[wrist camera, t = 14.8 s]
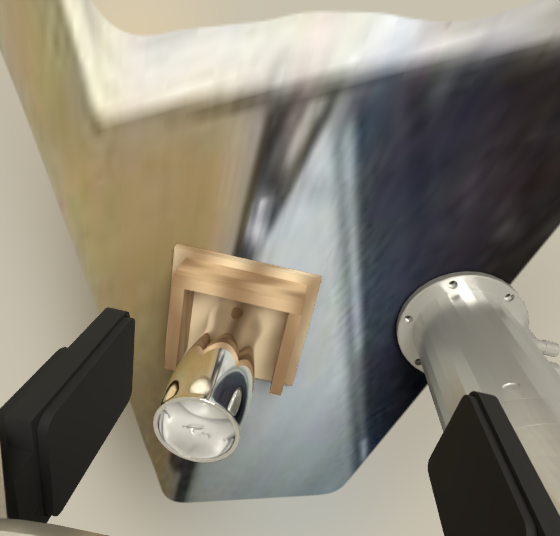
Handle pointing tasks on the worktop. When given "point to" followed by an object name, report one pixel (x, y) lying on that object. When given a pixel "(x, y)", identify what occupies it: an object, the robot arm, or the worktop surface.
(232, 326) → the beer glass
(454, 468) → the robot arm
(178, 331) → the glass rest
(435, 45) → the worktop surface
